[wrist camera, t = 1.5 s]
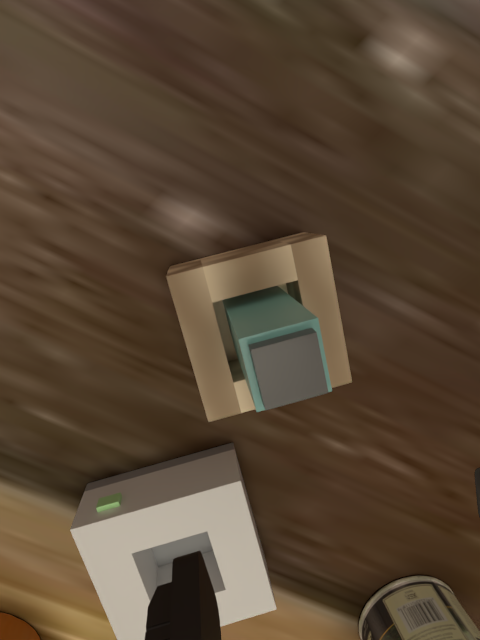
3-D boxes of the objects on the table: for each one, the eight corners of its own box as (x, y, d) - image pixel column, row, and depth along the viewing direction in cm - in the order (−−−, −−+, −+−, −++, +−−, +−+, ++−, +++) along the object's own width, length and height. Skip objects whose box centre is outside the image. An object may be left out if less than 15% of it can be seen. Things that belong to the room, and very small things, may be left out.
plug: (275, 284, 29) (323, 321, 19) (286, 335, 31) (337, 398, 20) (221, 298, 29) (240, 344, 19) (234, 349, 30) (259, 419, 20)
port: (231, 438, 33) (239, 475, 28) (264, 557, 37) (276, 609, 32) (85, 479, 33) (67, 525, 28) (132, 597, 36) (124, 656, 31)
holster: (303, 232, 30) (326, 235, 25) (327, 357, 32) (352, 382, 28) (169, 266, 29) (166, 276, 24) (205, 390, 32) (208, 422, 27)
